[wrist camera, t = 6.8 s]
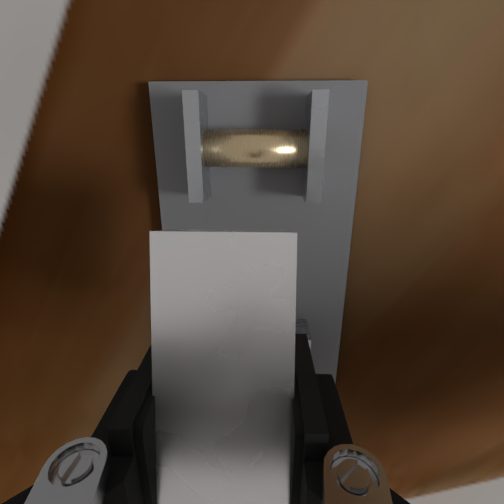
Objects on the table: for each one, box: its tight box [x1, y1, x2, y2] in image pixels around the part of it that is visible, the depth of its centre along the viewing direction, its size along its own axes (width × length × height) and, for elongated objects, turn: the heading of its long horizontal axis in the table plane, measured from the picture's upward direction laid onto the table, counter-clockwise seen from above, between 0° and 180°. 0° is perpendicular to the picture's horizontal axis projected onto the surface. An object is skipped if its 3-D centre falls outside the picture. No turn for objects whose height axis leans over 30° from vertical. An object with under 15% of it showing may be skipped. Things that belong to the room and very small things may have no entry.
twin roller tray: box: [182, 89, 329, 350], centre depth 20 cm, size 7×20×2 cm, turn 0°
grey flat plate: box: [148, 80, 368, 384], centre depth 21 cm, size 12×21×1 cm, turn 0°
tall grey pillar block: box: [150, 229, 297, 504], centre depth 11 cm, size 4×10×5 cm, turn 0°
